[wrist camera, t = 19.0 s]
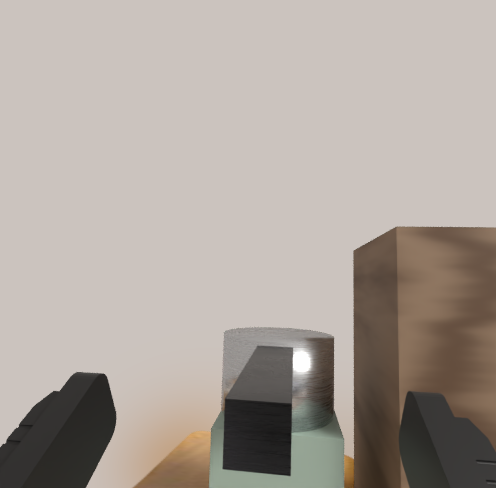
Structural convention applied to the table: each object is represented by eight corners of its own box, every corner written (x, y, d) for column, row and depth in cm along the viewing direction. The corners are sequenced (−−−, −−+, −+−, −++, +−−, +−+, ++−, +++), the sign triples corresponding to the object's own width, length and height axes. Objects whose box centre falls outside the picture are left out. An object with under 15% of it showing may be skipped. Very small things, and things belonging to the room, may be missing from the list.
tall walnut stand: (451, 586, 34) (441, 252, 37) (591, 848, 18) (550, 228, 22) (354, 573, 35) (353, 250, 39) (406, 810, 19) (396, 226, 23)
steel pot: (328, 396, 33) (328, 329, 33) (386, 589, 12) (384, 403, 13) (231, 389, 34) (233, 325, 34) (132, 553, 13) (143, 385, 14)
